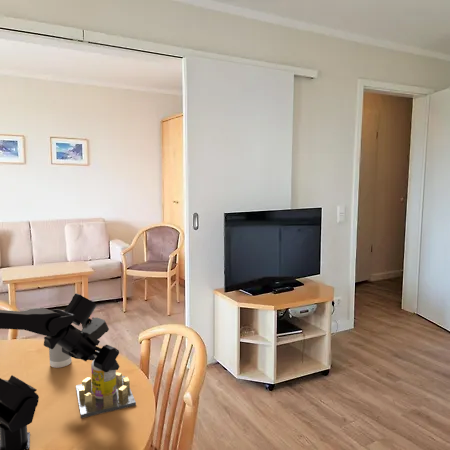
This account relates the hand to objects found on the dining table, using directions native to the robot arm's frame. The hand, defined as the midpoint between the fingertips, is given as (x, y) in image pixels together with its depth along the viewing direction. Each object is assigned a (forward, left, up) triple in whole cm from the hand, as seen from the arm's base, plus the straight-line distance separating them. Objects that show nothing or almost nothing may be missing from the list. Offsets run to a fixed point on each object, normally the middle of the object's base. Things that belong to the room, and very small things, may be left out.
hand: (107, 363), depth 117 cm
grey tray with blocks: (-1, +1, -10) cm, 10 cm away
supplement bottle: (-1, +1, -9) cm, 9 cm away
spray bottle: (+26, +12, -10) cm, 30 cm away
